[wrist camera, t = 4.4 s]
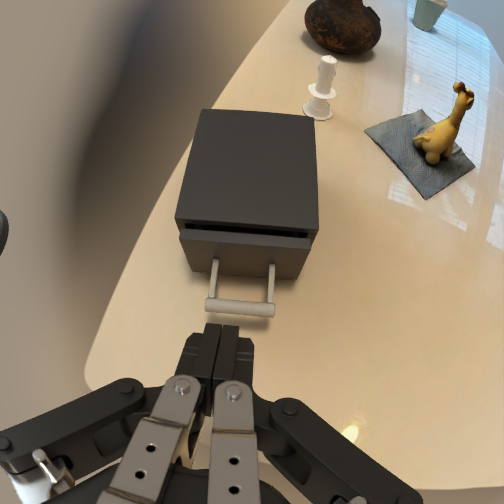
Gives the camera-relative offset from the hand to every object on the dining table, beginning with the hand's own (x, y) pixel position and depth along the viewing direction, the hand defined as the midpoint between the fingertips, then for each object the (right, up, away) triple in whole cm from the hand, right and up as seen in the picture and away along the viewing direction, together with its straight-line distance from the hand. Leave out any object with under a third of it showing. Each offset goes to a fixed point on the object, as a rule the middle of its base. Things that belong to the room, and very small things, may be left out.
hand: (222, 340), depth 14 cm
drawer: (+1, +5, +26) cm, 27 cm away
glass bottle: (+22, +54, +49) cm, 76 cm away
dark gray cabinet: (+1, +10, +29) cm, 31 cm away
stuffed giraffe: (+32, +23, +36) cm, 53 cm away
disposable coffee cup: (+58, +79, +61) cm, 116 cm away
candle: (+13, +29, +38) cm, 49 cm away
